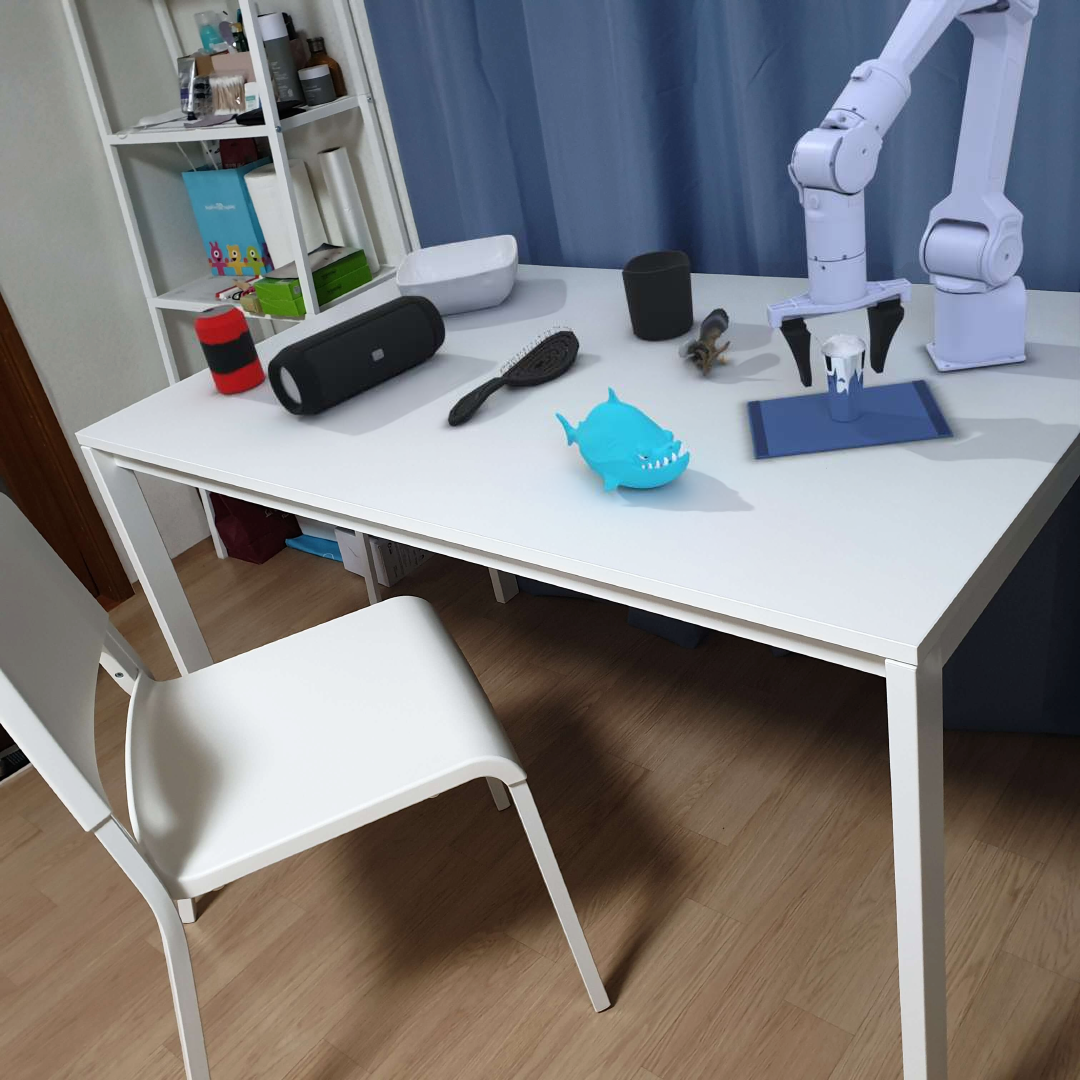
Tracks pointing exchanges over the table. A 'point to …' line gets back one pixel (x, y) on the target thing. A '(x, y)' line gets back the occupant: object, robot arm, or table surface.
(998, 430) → the table surface
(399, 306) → the portable speaker
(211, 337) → the soda can
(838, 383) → the milkshake
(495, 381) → the hairbrush
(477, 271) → the bowl
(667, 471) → the toy shark
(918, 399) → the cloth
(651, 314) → the pen holder
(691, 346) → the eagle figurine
